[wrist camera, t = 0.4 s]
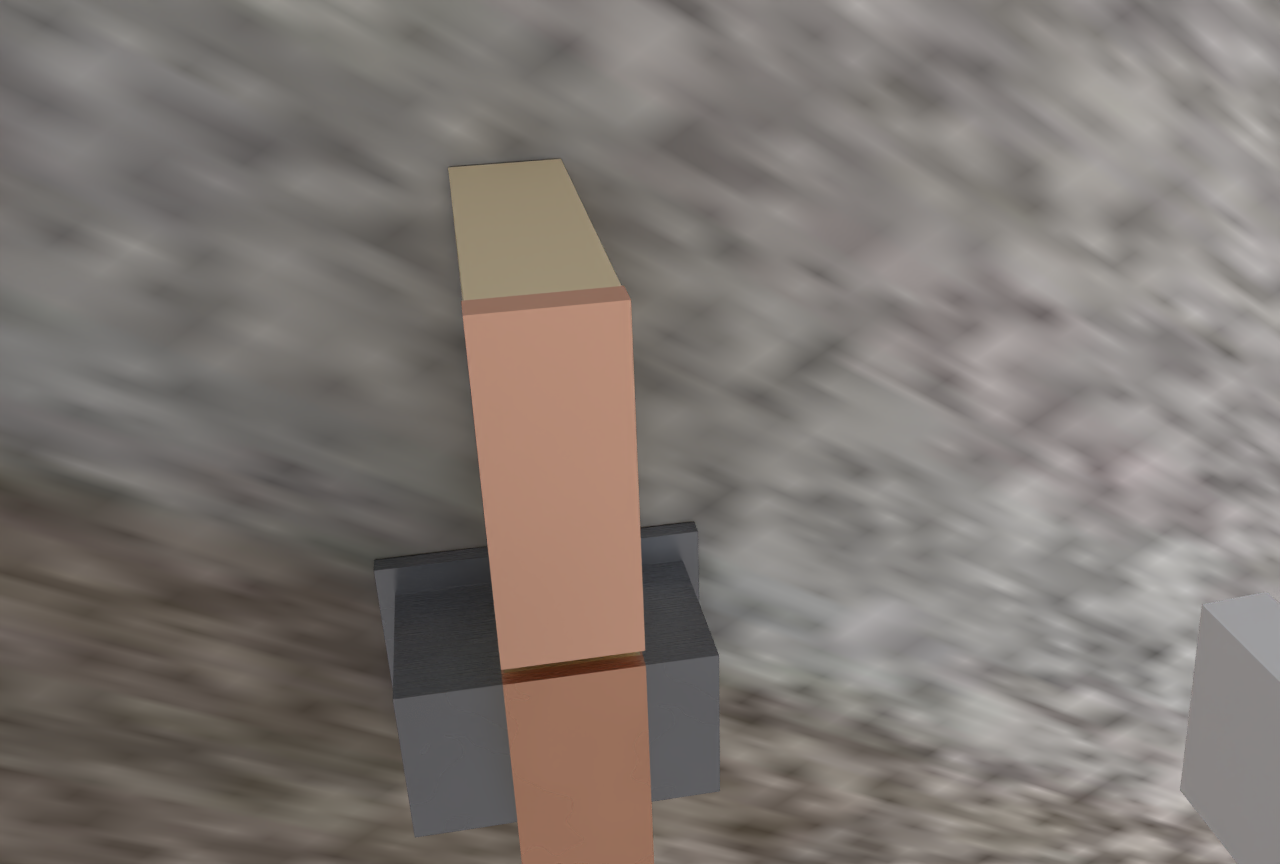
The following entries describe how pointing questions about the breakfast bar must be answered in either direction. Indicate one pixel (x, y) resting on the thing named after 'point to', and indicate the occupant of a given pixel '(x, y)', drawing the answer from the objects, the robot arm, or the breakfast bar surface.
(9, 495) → the breakfast bar surface
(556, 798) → the ticket holder
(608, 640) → the stub
